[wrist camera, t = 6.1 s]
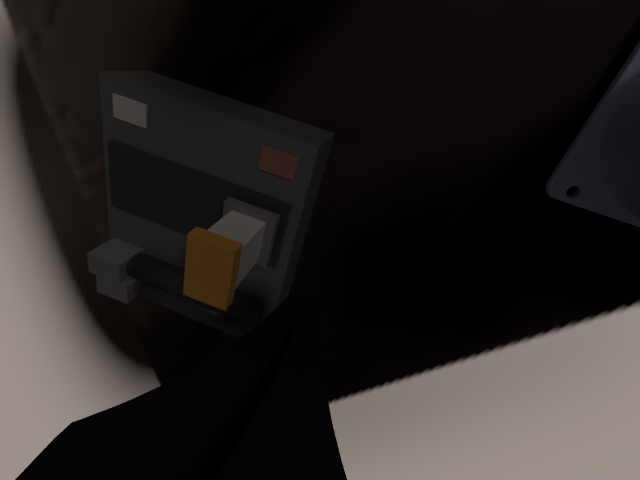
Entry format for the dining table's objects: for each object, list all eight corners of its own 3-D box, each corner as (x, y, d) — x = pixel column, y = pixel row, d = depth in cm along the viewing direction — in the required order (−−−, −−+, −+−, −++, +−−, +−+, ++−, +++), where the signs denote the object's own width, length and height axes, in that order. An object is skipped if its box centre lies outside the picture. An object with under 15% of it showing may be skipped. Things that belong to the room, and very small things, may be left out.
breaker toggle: (280, 213, 15) (243, 255, 11) (268, 264, 16) (232, 314, 13) (230, 194, 15) (179, 230, 12) (222, 246, 16) (175, 291, 13)
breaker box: (334, 133, 16) (306, 158, 12) (286, 302, 22) (255, 359, 18) (147, 69, 17) (60, 72, 13) (146, 248, 23) (86, 290, 18)
